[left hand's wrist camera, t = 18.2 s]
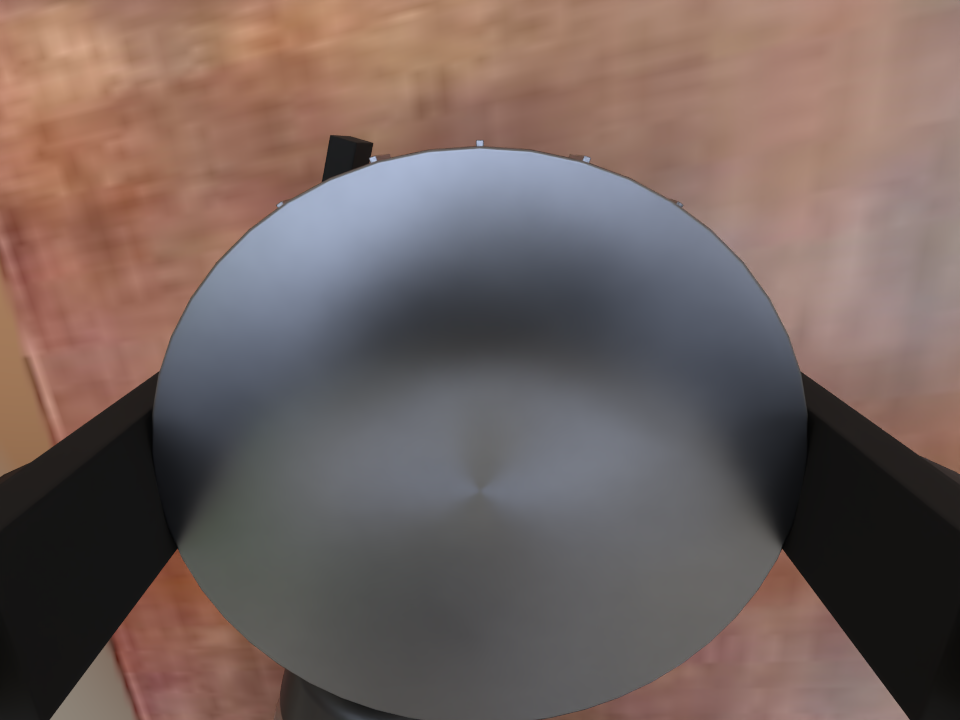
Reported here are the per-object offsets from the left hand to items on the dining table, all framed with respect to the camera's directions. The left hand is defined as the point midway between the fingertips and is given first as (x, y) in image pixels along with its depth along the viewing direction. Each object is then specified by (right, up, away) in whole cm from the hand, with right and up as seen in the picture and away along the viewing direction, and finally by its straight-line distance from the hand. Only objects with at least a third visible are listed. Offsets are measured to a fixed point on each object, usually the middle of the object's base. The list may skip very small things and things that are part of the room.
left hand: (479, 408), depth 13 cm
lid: (0, -1, -3) cm, 3 cm away
